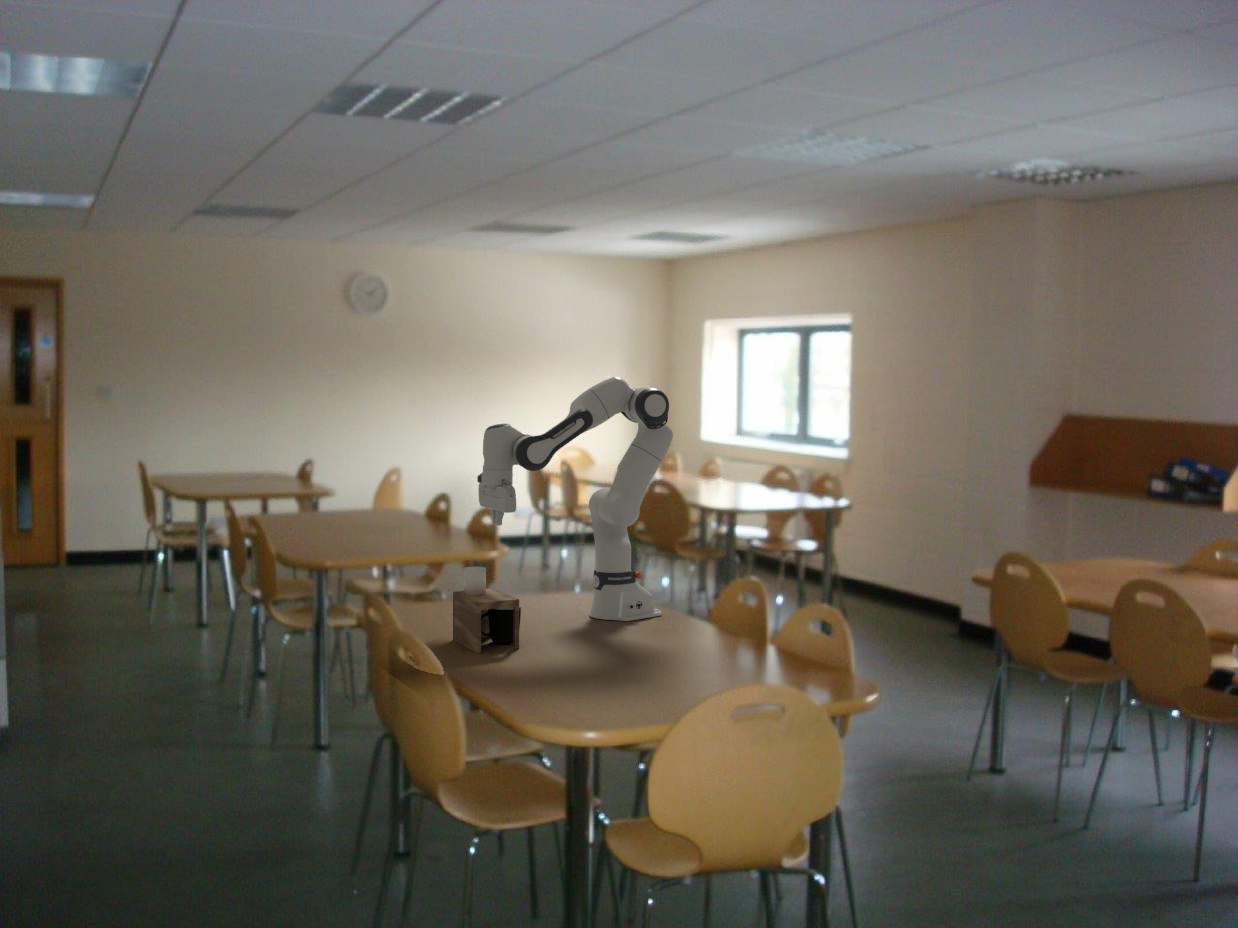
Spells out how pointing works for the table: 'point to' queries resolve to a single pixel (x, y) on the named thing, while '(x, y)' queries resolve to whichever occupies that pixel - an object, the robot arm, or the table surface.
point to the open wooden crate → (470, 613)
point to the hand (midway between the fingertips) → (497, 524)
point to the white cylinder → (474, 580)
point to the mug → (501, 625)
